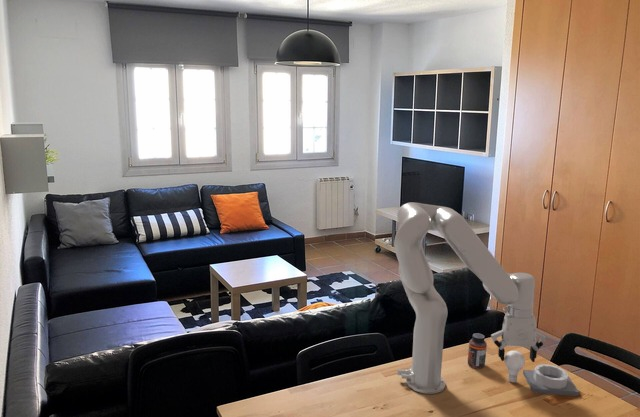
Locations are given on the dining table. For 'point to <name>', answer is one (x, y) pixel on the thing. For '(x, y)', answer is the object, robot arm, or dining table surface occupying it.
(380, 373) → the dining table surface
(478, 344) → the supplement bottle
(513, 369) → the lightbulb
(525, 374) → the socket holder
